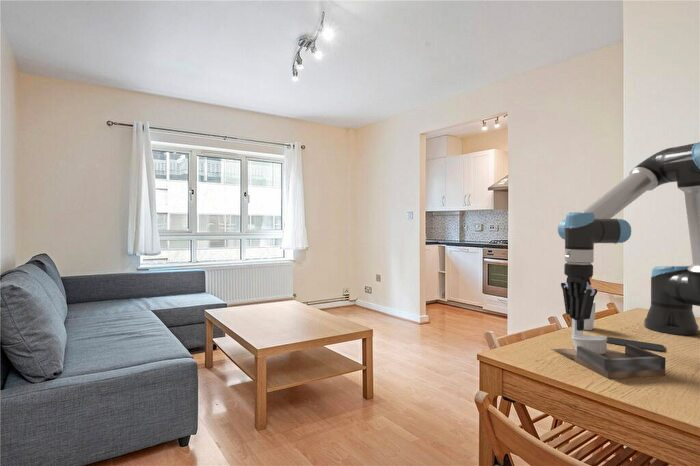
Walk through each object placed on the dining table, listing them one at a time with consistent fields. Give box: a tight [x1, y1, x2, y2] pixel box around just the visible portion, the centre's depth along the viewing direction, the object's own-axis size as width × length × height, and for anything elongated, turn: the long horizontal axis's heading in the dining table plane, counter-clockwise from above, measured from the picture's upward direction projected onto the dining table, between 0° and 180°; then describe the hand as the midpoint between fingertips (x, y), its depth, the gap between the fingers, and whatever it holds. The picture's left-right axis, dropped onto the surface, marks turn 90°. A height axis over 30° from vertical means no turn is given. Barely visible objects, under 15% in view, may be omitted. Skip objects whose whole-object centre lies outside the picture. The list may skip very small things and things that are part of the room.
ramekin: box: [572, 334, 608, 354], centre depth 113 cm, size 9×9×4 cm
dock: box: [550, 344, 667, 379], centre depth 109 cm, size 16×22×6 cm
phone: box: [605, 336, 666, 353], centre depth 123 cm, size 7×1×15 cm
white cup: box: [583, 300, 597, 331], centre depth 142 cm, size 8×8×10 cm
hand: (577, 340), depth 118 cm, fingers closed
